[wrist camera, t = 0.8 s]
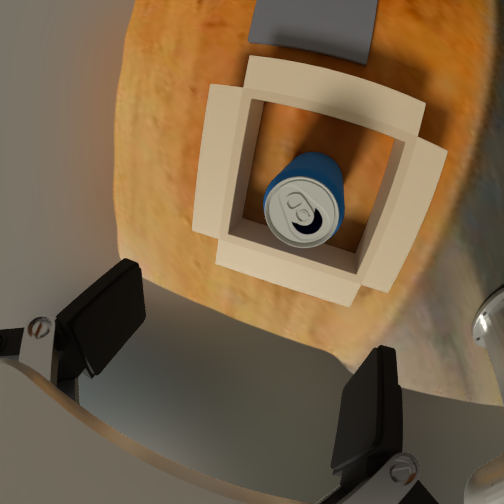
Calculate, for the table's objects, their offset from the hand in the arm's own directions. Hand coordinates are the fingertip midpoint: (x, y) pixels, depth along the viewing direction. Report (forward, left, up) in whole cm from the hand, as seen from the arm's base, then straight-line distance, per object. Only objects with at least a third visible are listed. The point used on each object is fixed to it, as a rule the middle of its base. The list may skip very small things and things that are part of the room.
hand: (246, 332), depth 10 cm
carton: (0, 0, -24) cm, 24 cm away
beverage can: (0, 0, -24) cm, 24 cm away
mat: (+4, -21, -24) cm, 32 cm away
